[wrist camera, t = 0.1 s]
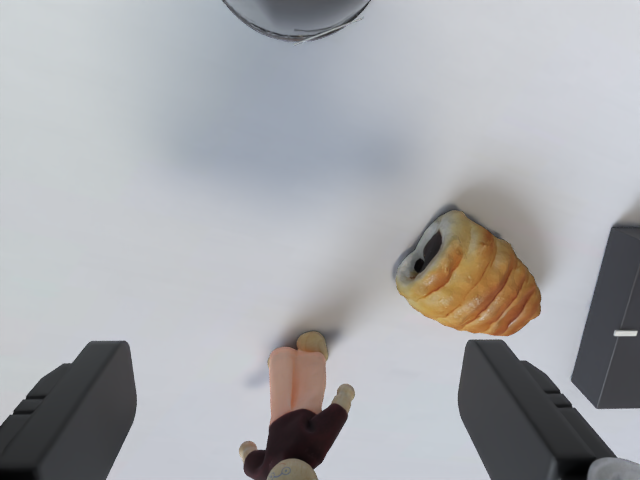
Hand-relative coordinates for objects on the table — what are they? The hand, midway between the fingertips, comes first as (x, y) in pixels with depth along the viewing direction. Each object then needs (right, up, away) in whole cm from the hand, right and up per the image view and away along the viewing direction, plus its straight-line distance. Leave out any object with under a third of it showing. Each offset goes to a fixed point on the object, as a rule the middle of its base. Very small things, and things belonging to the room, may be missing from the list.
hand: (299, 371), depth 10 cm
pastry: (+10, +1, +19) cm, 21 cm away
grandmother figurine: (-1, -5, +20) cm, 21 cm away
